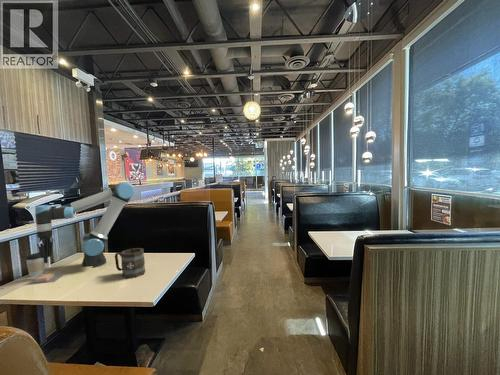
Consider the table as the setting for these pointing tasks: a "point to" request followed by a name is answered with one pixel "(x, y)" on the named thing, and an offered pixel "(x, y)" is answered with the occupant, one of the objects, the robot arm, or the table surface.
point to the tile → (44, 278)
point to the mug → (131, 262)
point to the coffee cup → (35, 264)
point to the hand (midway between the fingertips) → (47, 267)
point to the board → (56, 277)
